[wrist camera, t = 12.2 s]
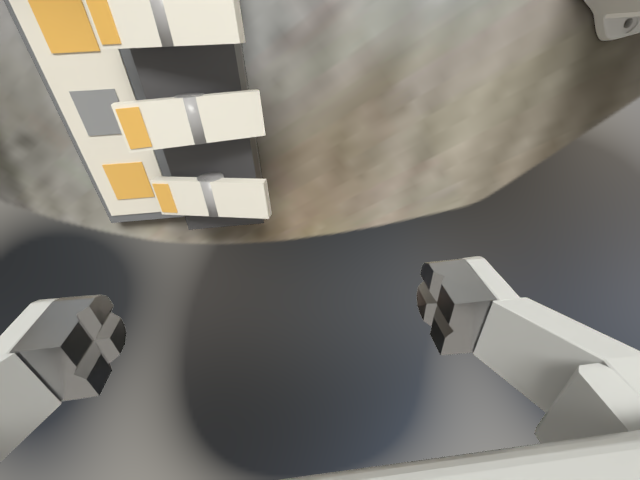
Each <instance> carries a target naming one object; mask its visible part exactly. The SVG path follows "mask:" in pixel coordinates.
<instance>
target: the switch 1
mask: <svg viewBox="0 0 640 480" xmlns="http://www.w3.org/2000/svg"><path fill="white" fill-rule="evenodd" d="M84 1H85V4H86V6H87V9H88V12H89V14H90V17H91V20H92V23H93V25H94V28H95V31H96V33H97V36H98V39H99V42H100V44H101V47H102V49H123V48H146V47H170V46H192V45H215V44H238V43H246V42H245V36H244V29H243V22H242V15H241V9H240V2H239V0H84Z"/></svg>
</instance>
